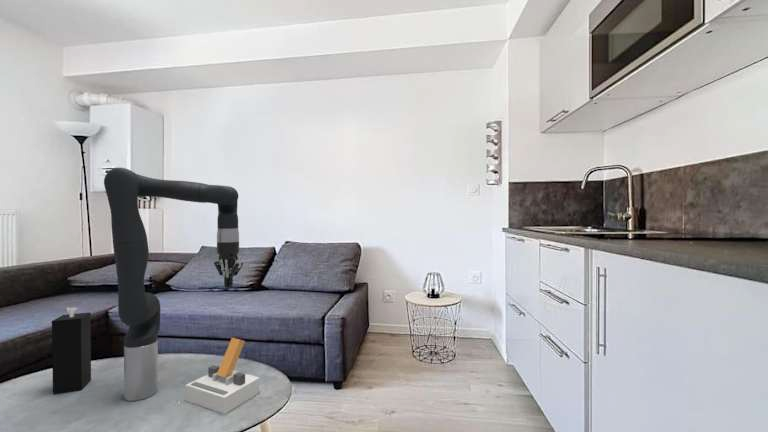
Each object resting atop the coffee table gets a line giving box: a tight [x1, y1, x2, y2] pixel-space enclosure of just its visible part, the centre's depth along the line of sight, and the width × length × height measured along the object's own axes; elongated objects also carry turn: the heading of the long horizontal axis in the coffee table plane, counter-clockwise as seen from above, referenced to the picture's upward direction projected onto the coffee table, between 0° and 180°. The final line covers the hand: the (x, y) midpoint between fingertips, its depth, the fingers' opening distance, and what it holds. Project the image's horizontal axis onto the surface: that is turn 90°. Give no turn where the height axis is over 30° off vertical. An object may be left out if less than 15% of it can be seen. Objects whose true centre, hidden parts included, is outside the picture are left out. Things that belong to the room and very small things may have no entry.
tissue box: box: [51, 306, 92, 395], centre depth 120 cm, size 8×8×28 cm
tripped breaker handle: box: [217, 337, 246, 380], centre depth 116 cm, size 4×2×13 cm
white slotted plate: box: [184, 364, 261, 415], centre depth 114 cm, size 18×14×8 cm
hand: (228, 287), depth 128 cm, fingers closed
